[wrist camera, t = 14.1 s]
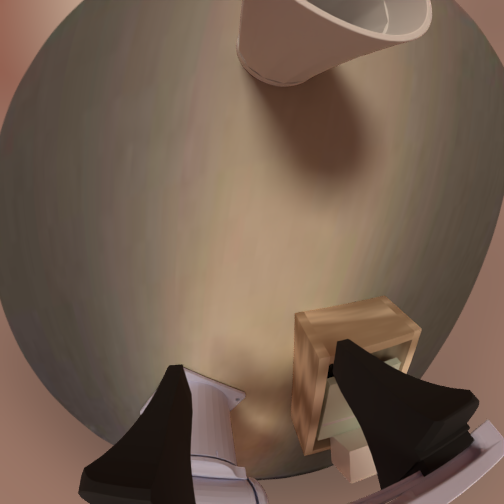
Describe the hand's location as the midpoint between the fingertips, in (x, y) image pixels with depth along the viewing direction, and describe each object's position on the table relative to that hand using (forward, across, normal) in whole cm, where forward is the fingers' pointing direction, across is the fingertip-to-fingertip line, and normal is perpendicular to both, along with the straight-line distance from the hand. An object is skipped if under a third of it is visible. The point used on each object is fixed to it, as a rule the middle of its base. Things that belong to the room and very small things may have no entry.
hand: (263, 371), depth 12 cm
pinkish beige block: (+4, -9, +18) cm, 21 cm away
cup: (+11, -4, -17) cm, 21 cm away
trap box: (+10, -9, +11) cm, 18 cm away
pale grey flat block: (+4, -9, +13) cm, 17 cm away
